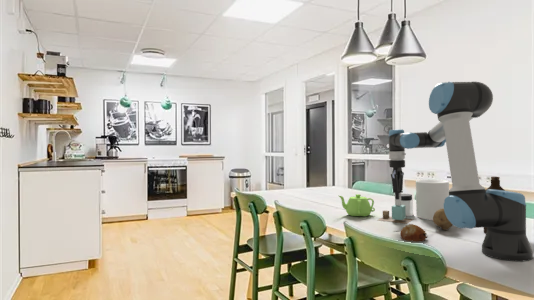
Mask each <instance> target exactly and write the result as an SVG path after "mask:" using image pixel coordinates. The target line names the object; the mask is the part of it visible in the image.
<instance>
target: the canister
mask: <svg viewBox="0 0 534 300" xmlns="http://www.w3.org/2000/svg"><path fill="white" fill-rule="evenodd" d="M449 190H450V181H449V180H444V179H416V180H415V205H416V206H415V207H416V208H415V211H416V212H415V214H416V217H417V218H419V219H423V220H430V221H433V216H434V213H435V212H436V211H437V210H439V209H444V200H445V198H446V197H448V196H449Z"/></svg>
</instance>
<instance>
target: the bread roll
mask: <svg viewBox="0 0 534 300" xmlns="http://www.w3.org/2000/svg"><path fill="white" fill-rule="evenodd" d="M399 236H400V238H401V240H403V241H406V242H418V243H419V242H420V243H421V242H424V241H426V239H427V238H428V236H427V232H426V230H425V229H423V228H422V227H420V226H419V225H416V224H413V223H410V224H409V223H408V224H405V226H403V228H402V229H401V230H400V235H399Z"/></svg>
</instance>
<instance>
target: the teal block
mask: <svg viewBox="0 0 534 300" xmlns="http://www.w3.org/2000/svg"><path fill="white" fill-rule="evenodd" d="M391 217H392V219H396V220H404V219H405V218H406V217H407V216H406V213H405V205H401V206H396V205H395V204H394V205H392V206H391Z"/></svg>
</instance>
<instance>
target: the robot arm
mask: <svg viewBox="0 0 534 300" xmlns="http://www.w3.org/2000/svg"><path fill="white" fill-rule="evenodd" d="M493 101H494V95H493V91H492V90H491V88H490V87H489V86H488V85H487V84H485V83H483V82H481V81H480V82H479V81H448V82H447V81H445V82H440V83H437V84H436V85H435V86H434V87H433V88H432V89H431V92H430V94H429V98H428V109H429V110H430V113H433V114H434V115H437V120H438V123H436V125H434V127H432V128H431V129H429V130H428V131H427V132H426V131H424V132H411V131H410V132H405V130H404V129H401V128H400V129H389V131H388V153H389V154H388V156H389V157H388V159H389V165H388V166H389V168H392V173H391V174H390V178H391V186H392V193H393V194H394V205H396V206H401V194H404V193H403V192H404V190H403V188H404V175H405V173H404V171H403V169H402V168H406V160H405V159H406V154H407V153H406V149H407V150H409V149H410V150H411V149H420V148H421V149H422V148H423V149H425V148H427V149H428V148H429V149H430V148H435V149H436V148H441V147H444V146H445V145H446V152H447V158H448V164H449V165H448V167H449V172H450V173H449V174H450V177H451V179H450V180H451V185H452V186H451V187H450V188H449V196H448V197H446V198H445V200H444V212H445V215H446V217H447V219H448V220H449V221H450V222H451V224H453V225H452V226H454V227H456V228H459V229H477V228H483V227H487V233H485V236H484V239H483V240H482V241H483V242H482V244H481V252H482V253H483V254H484V255H486V256H488V257H491V258H495V259H497V260H505V261H512V262H527V261H531V260H533V259H534V257H533V256H534V253H533V249H532V247H531V244H530V242H529V239H528V237H527V204H526V197H525V195H524V194H523V193H520V192H517V191H509V190H505V191H503V190H494V189H487V190H486V187H484V186H482V185H481V184H480V178H479V172H478V167H477V160H476V155H475V154H476V153H475V149H474V143H473V137H472V136H473V135H472V130H471V124H470V123H471V122H470V121H472V120H473V119H476V118H480V117H481V116H482V115H484V114H486V112H487V111H488V110H489V109H490V107H491V106H492V104H493Z"/></svg>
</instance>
